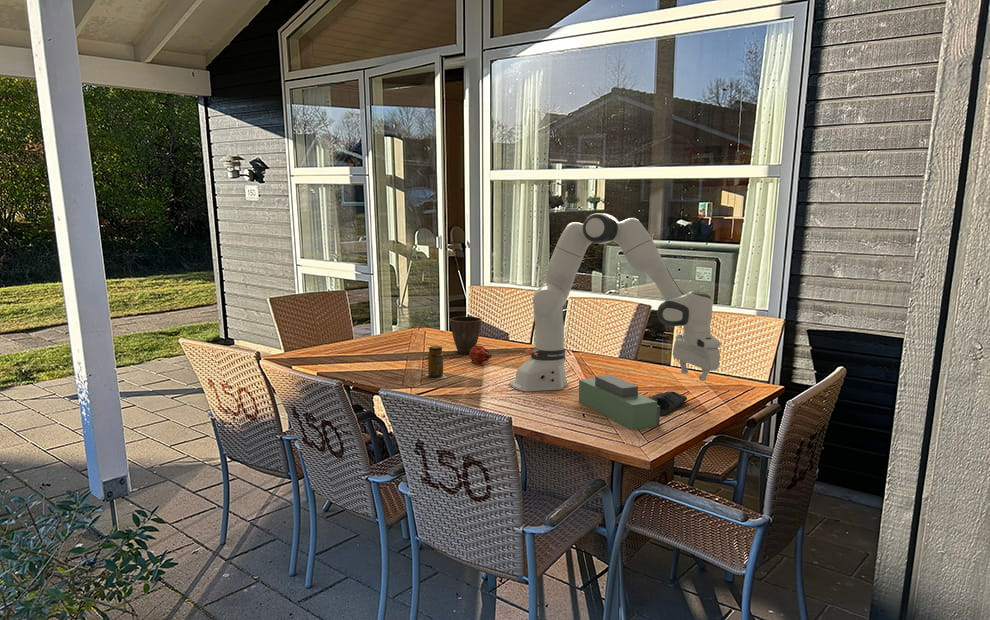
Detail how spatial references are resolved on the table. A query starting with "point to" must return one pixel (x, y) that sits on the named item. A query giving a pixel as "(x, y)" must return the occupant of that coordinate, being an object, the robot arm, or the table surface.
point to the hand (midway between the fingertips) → (693, 376)
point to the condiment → (435, 363)
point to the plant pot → (465, 332)
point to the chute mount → (619, 401)
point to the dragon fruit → (479, 354)
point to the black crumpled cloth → (668, 401)
